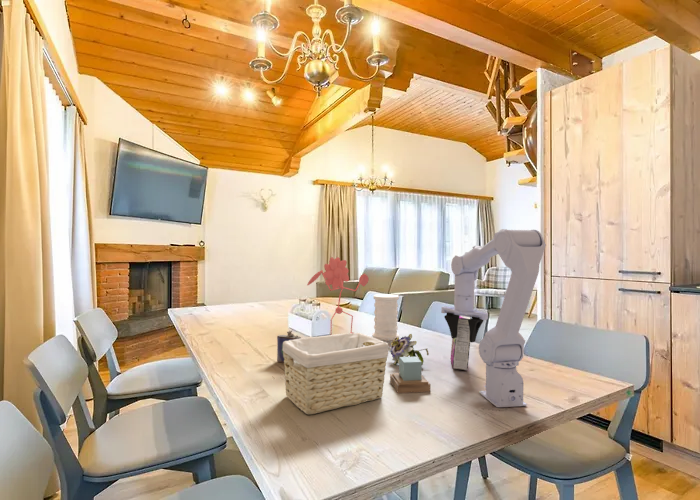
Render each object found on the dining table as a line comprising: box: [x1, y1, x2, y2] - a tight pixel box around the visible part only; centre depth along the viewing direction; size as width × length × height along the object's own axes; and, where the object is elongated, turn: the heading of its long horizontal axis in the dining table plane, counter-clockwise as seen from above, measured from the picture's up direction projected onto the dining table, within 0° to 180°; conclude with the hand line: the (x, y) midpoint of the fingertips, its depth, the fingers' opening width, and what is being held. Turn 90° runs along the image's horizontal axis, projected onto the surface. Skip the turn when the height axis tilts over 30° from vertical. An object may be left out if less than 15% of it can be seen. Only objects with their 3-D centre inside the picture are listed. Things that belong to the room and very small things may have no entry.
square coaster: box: [389, 372, 431, 394], centre depth 106 cm, size 9×9×2 cm
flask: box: [276, 330, 302, 364], centre depth 127 cm, size 9×3×11 cm, turn 65°
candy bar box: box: [450, 314, 472, 371], centre depth 125 cm, size 11×5×16 cm, turn 169°
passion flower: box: [388, 333, 430, 366], centre depth 127 cm, size 11×11×12 cm
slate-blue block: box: [398, 356, 423, 381], centre depth 106 cm, size 5×5×5 cm
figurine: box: [306, 256, 370, 335], centre depth 147 cm, size 15×26×35 cm, turn 127°
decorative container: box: [371, 293, 400, 342], centre depth 164 cm, size 12×12×18 cm
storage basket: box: [282, 332, 389, 415], centre depth 98 cm, size 24×16×15 cm
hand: (463, 339), depth 116 cm, fingers open, 6 cm apart
